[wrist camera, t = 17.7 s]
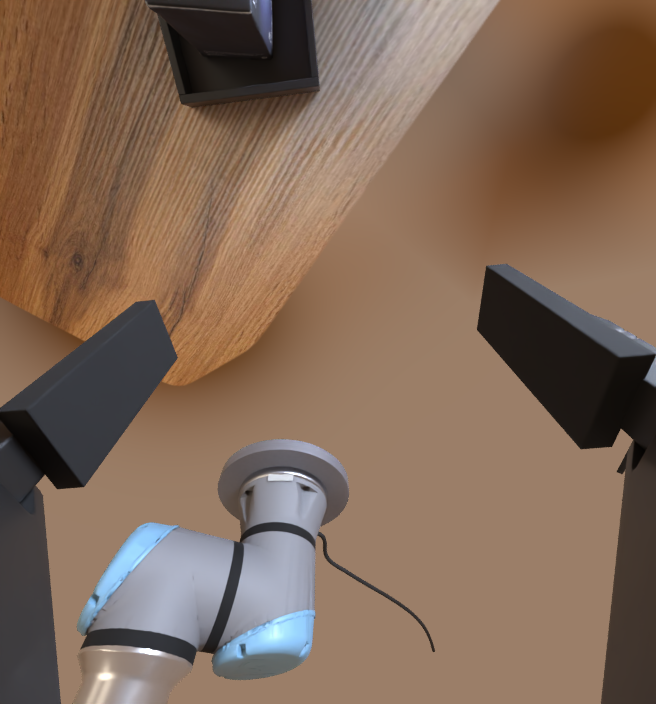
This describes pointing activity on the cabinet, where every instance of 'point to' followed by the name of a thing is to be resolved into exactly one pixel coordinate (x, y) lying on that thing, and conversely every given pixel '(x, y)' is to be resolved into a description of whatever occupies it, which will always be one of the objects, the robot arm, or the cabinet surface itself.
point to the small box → (221, 26)
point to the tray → (249, 62)
